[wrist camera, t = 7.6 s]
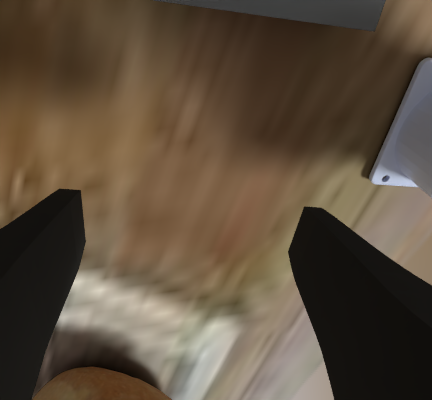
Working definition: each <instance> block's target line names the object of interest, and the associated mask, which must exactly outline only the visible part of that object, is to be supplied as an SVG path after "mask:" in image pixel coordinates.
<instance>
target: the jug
mask: <svg viewBox="0 0 432 400" xmlns="http://www.w3.org/2000/svg"><path fill="white" fill-rule="evenodd" d="M32 400H172V399H171V398H169V397H168V396H166V395H165V394H164V393H163V392H161V391H160V390H159V389H157V388H155V387H153V386H151V385H149V384H148V383H146V382H144V381H142V380H140V379H138V378H133V377H131V376H129V375H126V374H123V373H120V372H116V371H112V370H108V369H104V368H98V367H93V366H91V367H84V368H74V369H71V370H67V371H65V372H62V373H60V374H59V375H57V376H56V377H55V378H53V379H52V380H51V381H49V382H48V383H47V384H46V385H45V386H44V387H43V388H42V389H41V390H40V391H39V392H38V393H37V394H36V395H35V397H34V398H33V399H32Z"/></svg>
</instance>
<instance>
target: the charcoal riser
mask: <svg viewBox="0 0 432 400" xmlns="http://www.w3.org/2000/svg"><path fill="white" fill-rule="evenodd" d="M155 1H162V2H169V3H176V4H183V5H190V6H197V7H204V8H211V9H218V10H225V11H233V12H240V13H247V14H254V15H261V16H268V17H275V18H282V19H289V20H296V21H303V22H310V23H317V24H325V25H332V26H339V27H346V28H353V29H360V30H367V31H374V32H375V29H376V26H377V24H378V21H379V18H380V15H381V12H382V9H383V7H384V4H385V1H386V0H155Z"/></svg>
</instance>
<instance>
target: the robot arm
mask: <svg viewBox="0 0 432 400" xmlns="http://www.w3.org/2000/svg"><path fill="white" fill-rule="evenodd" d="M384 176H386V177H385V178H384V179H382V178H383V177H384ZM369 179H370V181H371V182H372V183H373V184H379V185H394V186H408V187H419V188H421V189H422V190H423V191H424V192H425V193H426V194H428V195H429V196H430V197H431V198H432V58H425V59H423V60H422V61H421V62H420V63H419V65H418V66H417V69H416V71H415V73H414V75H413V78H412V80H411V82H410V85H409V87H408V89H407V91H406V94H405V96H404V98H403V100H402V103H401V105H400V107H399V110H398V112H397V114H396V116H395V119H394V121H393V123H392V125H391V128H390V130H389V132H388V135H387V137H386V139H385V141H384V144H383V146H382V148H381V150H380V153H379V155H378V157H377V160H376V162H375V164H374V166H373V169H372V171H371V173H370V176H369ZM85 242H86V240H85V229H84V219H83V209H82V199H81V190H70V189H58V190H57V191H55V192H54V193H52V194H51V195H49V196H48V197H47V198H45V199H44V200H42V201H41V202H39V203H38V204H37V205H35V206H34V207H32V208H31V209H30V210H28V211H27V212H25V213H24V214H22V215H21V216H19V217H18V218H17V219H15V220H14V221H12V222H11V223H9V224H8V225H6V226H5V227H3V228H1V229H0V400H31V399H32V395H33V392H34V388H35V385H36V381H37V378H38V375H39V371H40V368H41V365H42V361H43V358H44V355H45V351H46V349H47V346H48V343H49V340H50V338H51V335H52V333H53V330H54V328H55V325H56V323H57V321H58V318H59V316H60V313H61V311H62V309H63V306H64V304H65V301H66V299H67V297H68V294H69V292H70V289H71V287H72V284H73V282H74V279H75V277H76V274H77V272H78V269H79V266H80V262H81V258H82V254H83V250H84V246H85ZM288 254H289V258H290V263H291V268H292V272H293V276H294V279H295V282H296V285H297V287H298V290H299V293H300V295H301V298H302V300H303V303H304V306H305V308H306V311H307V313H308V316H309V318H310V321H311V324H312V326H313V329H314V331H315V334H316V336H317V339H318V342H319V345H320V348H321V351H322V354H323V358H324V362H325V365H326V369H327V373H328V376H329V380H330V384H331V388H332V392H333V396H334V400H432V285H430V284H428V283H427V282H425V281H423V280H422V279H420V278H418V277H417V276H415V275H414V274H412V273H411V272H409V271H408V270H406V269H404V268H403V267H402V266H400V265H399V264H397V263H396V262H394V261H393V260H391V259H390V258H389V257H387V256H386V255H384V254H383V253H382V252H380V251H379V250H377V249H376V248H375V247H373V246H372V245H371V244H369V243H368V242H367V241H365V240H364V239H363V238H361V237H360V236H359V235H358V234H356V233H355V232H354V231H352V230H351V229H350V228H349V227H347V226H346V225H345V224H343V223H342V222H341V221H339V220H338V219H337V218H335V217H334V216H333V215H331V214H330V213H328V212H327V211H326V210H324V209H322V208H317V207H304V209H303V212H302V214H301V217H300V220H299V223H298V226H297V228H296V231H295V234H294V237H293V239H292V242H291V245H290V248H289V251H288Z"/></svg>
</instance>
